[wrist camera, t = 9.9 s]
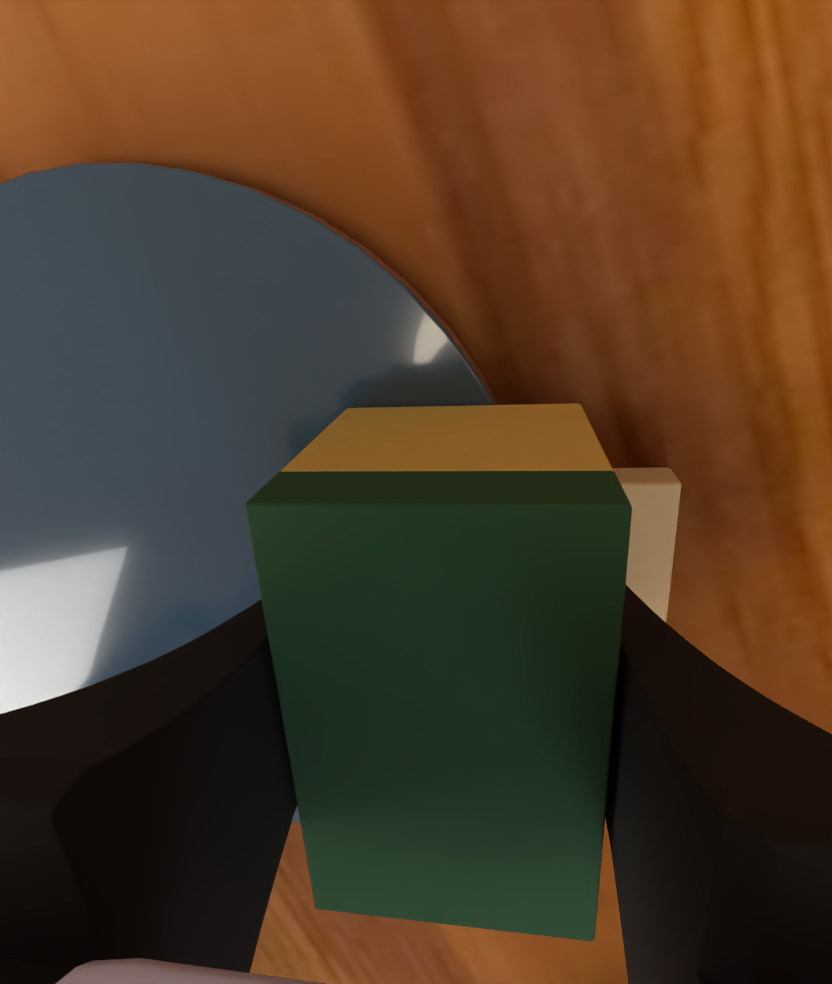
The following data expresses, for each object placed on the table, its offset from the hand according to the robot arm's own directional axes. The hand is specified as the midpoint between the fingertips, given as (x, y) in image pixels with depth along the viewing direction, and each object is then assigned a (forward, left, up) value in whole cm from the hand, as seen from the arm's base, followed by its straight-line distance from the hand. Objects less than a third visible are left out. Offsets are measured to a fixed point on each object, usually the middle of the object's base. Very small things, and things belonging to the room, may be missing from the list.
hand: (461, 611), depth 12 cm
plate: (0, +7, -3) cm, 8 cm away
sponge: (0, 0, -1) cm, 1 cm away
